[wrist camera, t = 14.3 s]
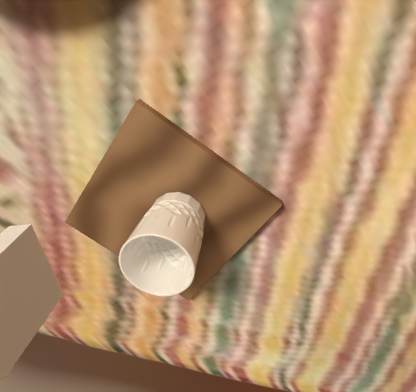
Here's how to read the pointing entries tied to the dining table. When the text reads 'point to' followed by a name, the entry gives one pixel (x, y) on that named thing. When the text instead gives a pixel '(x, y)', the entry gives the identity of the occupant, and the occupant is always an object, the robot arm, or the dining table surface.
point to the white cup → (165, 246)
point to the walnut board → (166, 183)
